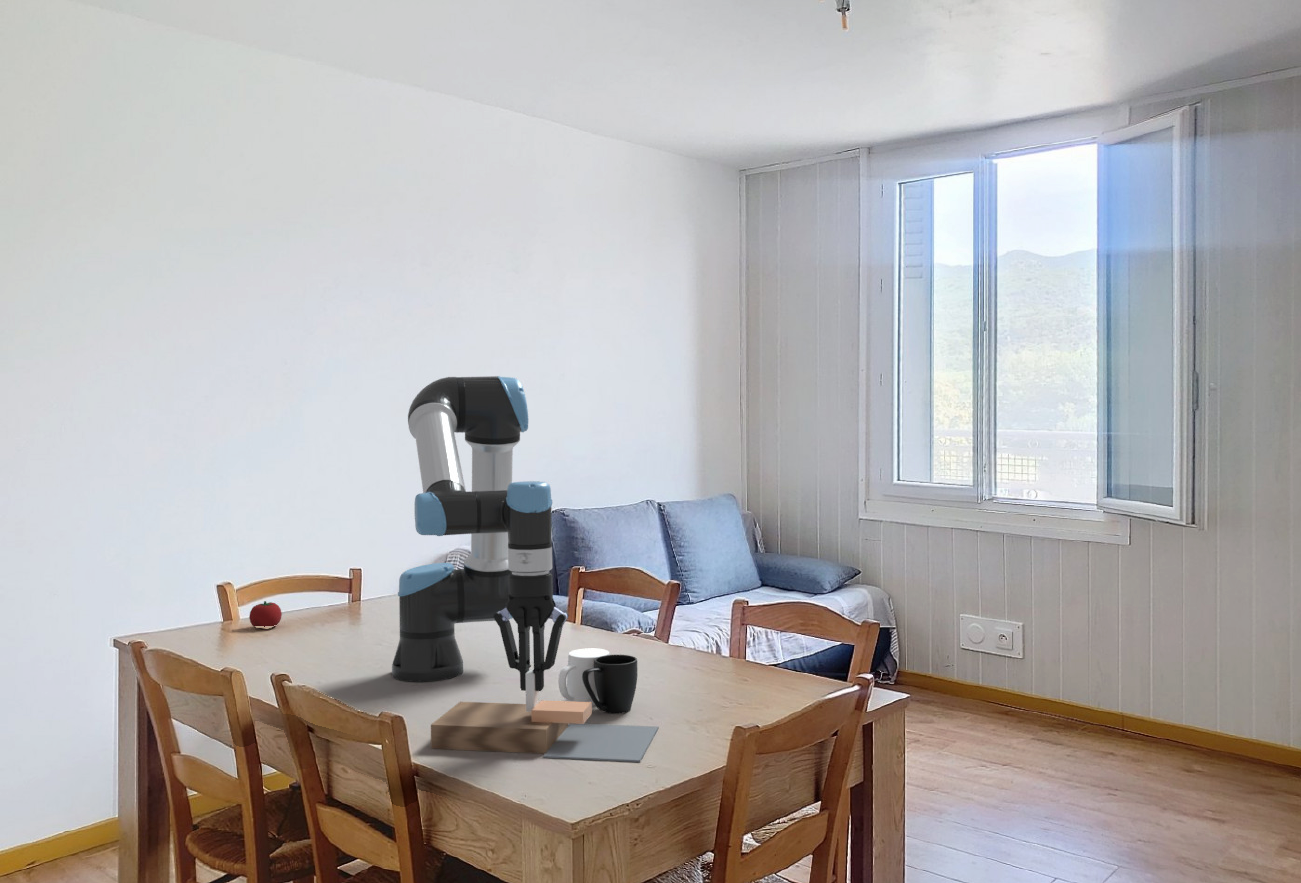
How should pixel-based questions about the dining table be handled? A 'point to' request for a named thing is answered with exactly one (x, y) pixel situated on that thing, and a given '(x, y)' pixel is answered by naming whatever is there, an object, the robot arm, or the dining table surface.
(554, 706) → the tile
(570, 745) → the mat
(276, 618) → the tomato
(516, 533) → the robot arm
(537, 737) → the block
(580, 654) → the mug
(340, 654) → the dining table surface
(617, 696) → the mug
